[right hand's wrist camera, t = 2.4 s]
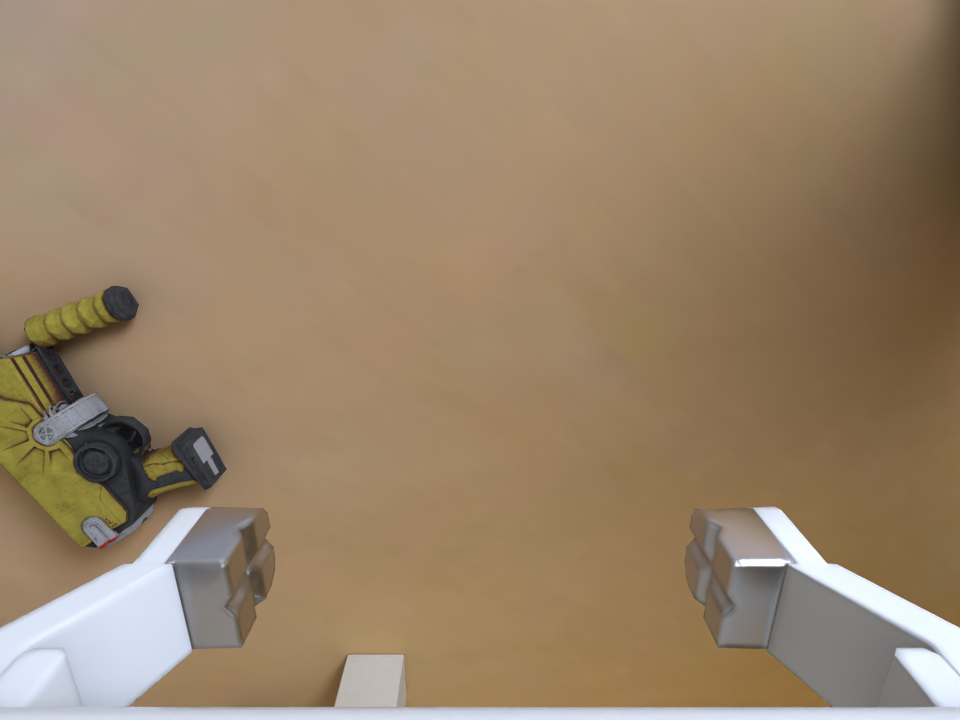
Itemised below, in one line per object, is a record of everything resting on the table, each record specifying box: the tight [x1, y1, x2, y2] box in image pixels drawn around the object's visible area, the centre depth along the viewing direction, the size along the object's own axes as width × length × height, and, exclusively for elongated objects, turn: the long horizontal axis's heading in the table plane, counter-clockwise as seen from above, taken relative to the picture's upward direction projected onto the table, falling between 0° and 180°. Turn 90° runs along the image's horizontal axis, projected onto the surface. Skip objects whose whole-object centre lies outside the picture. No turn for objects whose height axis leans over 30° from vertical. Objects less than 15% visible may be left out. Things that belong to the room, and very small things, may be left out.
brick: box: [334, 654, 407, 707], centre depth 50 cm, size 5×5×8 cm
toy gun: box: [0, 286, 226, 549], centre depth 41 cm, size 5×24×15 cm
